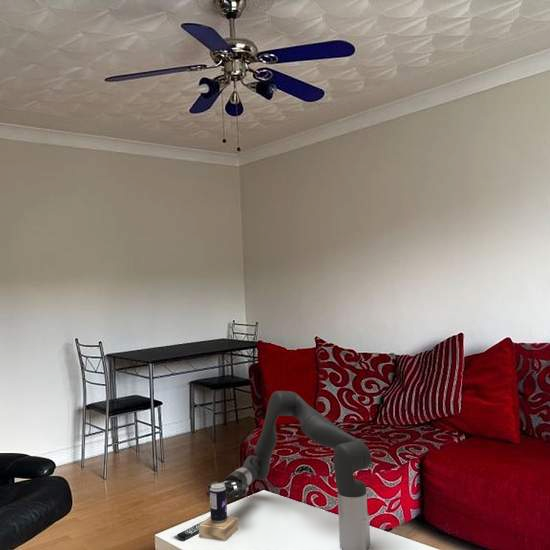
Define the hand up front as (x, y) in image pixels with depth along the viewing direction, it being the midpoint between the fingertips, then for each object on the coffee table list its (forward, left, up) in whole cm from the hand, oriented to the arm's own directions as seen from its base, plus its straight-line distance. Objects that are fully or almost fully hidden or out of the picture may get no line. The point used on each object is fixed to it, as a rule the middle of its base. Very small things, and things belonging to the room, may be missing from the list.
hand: (218, 495), depth 199 cm
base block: (0, +1, -13) cm, 13 cm away
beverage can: (0, +1, -8) cm, 9 cm away
